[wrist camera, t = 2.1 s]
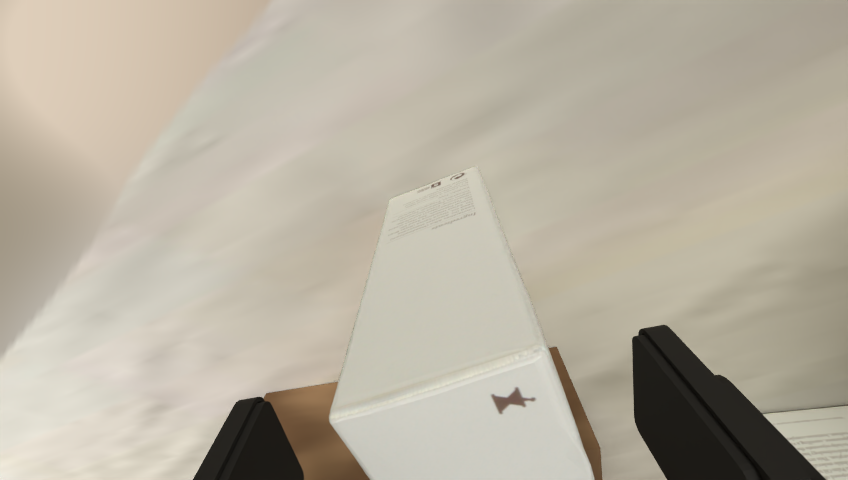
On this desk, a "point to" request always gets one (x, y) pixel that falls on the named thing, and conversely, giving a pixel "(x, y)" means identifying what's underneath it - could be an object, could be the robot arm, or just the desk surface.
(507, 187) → the desk surface
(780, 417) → the small box
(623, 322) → the desk surface
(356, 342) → the skincare box
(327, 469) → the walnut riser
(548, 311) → the desk surface
